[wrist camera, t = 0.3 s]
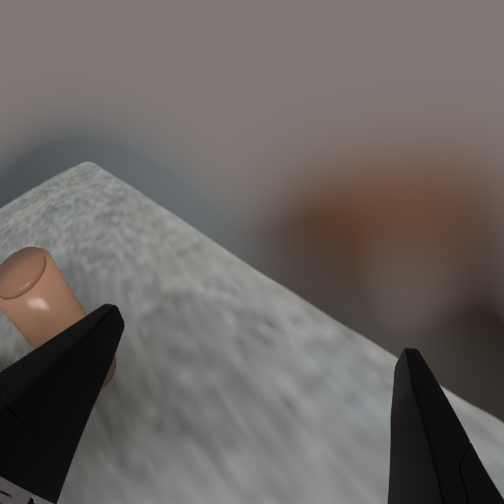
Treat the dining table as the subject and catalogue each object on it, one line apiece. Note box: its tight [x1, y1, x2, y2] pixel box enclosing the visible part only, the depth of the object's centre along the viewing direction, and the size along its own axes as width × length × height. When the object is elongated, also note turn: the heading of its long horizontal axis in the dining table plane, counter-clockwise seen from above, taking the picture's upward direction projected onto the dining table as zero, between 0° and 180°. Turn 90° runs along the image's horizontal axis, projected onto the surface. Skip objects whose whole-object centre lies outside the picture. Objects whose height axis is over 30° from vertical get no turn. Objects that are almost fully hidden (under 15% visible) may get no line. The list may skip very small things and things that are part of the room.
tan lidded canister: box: [0, 247, 116, 387], centre depth 22 cm, size 6×6×13 cm
